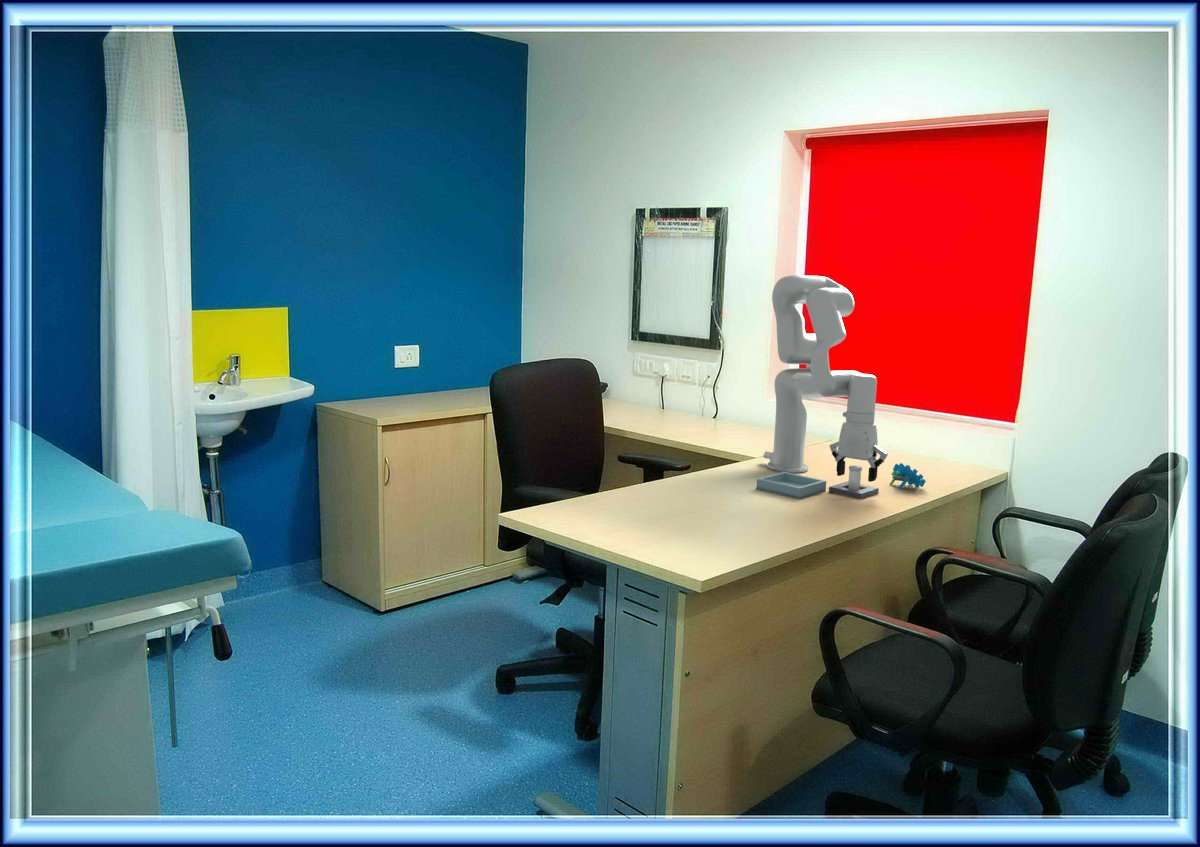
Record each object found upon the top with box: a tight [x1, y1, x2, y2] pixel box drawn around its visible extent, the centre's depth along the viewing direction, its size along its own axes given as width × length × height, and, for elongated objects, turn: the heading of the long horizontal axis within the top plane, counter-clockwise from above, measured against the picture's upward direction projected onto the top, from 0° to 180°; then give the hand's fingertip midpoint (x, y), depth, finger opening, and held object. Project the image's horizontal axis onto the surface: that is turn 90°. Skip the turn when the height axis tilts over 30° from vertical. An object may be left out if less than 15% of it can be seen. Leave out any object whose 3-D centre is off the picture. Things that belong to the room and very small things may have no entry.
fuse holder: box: [828, 481, 880, 500], centre depth 254 cm, size 10×10×2 cm
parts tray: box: [755, 472, 827, 500], centre depth 255 cm, size 14×14×3 cm
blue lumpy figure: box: [889, 462, 927, 490], centre depth 262 cm, size 11×6×10 cm
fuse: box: [848, 465, 863, 491], centre depth 254 cm, size 4×4×8 cm
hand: (856, 478), depth 253 cm, fingers open, 9 cm apart
